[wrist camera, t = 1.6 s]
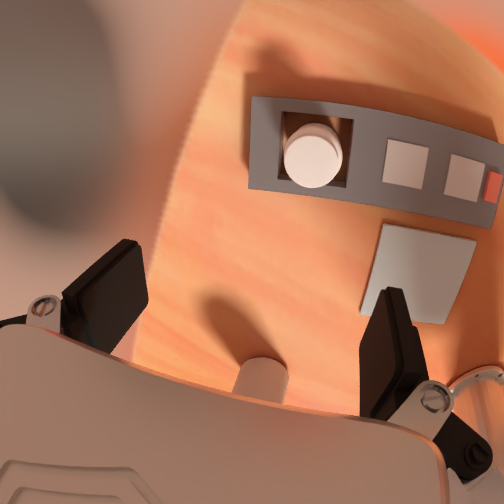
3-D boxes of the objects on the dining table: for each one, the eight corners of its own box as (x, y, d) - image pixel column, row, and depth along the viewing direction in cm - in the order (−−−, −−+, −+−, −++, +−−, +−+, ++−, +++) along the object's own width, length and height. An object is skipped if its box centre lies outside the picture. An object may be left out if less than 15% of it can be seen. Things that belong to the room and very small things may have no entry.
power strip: (498, 143, 22) (513, 148, 20) (481, 220, 27) (493, 231, 24) (257, 96, 27) (249, 96, 24) (254, 182, 32) (246, 190, 29)
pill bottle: (291, 120, 28) (278, 127, 20) (341, 123, 27) (346, 131, 19) (291, 167, 30) (278, 191, 23) (338, 170, 29) (342, 196, 22)
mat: (475, 240, 28) (477, 242, 27) (442, 322, 34) (443, 324, 33) (383, 222, 30) (383, 224, 30) (359, 312, 36) (359, 314, 35)
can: (234, 355, 45) (209, 419, 35) (281, 350, 42) (263, 420, 32) (252, 385, 48) (232, 445, 37) (295, 382, 45) (282, 447, 35)
